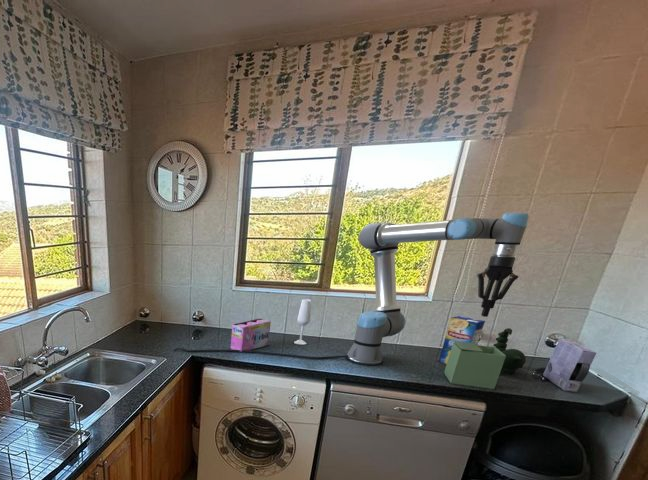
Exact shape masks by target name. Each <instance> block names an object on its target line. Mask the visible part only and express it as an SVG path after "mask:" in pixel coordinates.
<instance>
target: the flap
mask: <svg viewBox="0 0 648 480" xmlns="http://www.w3.org/2000/svg"><path fill="white" fill-rule="evenodd" d="M454 343H455V344H456V345H457V346H458V347H459V348H460V349H461V350H467V351H477V352H483V350H481V349H480V348H479V347H478V346H477V345H476V344H475V343H470V342H460V341H454Z"/></svg>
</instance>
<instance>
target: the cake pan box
mask: <svg viewBox="0 0 648 480" xmlns="http://www.w3.org/2000/svg"><path fill="white" fill-rule="evenodd" d="M596 356H597V351H594V350H593V349H590V348H588V347H587V346H585V345H582V344H581V343H579V342H577V341H575V340H573V339H568V338H558V341H557V343H556V345H555V347H554V350H553V351H552V354H551V356H550V359H549V361H548V362H547V364H546V367H545V369H544V371H543V373H542V377H545V378H546V379H547V380H549V381H550V382H551V383H552V384H553V385H556V387H559V388H560V389H561V390H562V391H564V392H573V393H578V391H579V389H580V386H581V385H582V383H583V381H585V379H586V377H587V376H588V374H589V371H590V369H591V365H592V364H593V361H594V359H595V357H596Z"/></svg>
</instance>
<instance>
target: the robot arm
mask: <svg viewBox="0 0 648 480" xmlns="http://www.w3.org/2000/svg"><path fill="white" fill-rule="evenodd" d="M529 218H530V216H529V213H526V212H505V213H503V216H502V217H500V218H479V217H475V218H473V217H471V218H470V217H462V218H456V219H446V220H445V219H444V220H435V221H425V222H414V223H413V222H411V223H404V224H397V223H392V222H371V223H368V224H367V225H365V226H363V227H362V228H361V230H360V231H359V234H358V243H359V245H361V247H363V248H364V249H367V250H369V255H370V256H372V257H373V259H374V260H373V265H374V266H373V267H374V286H375V307H374V309H372V311H371V310H369V311H364V312H362V313H360V314H359V317H358V319H357V324H356V329H355V335H354V339H353V343H352V345H351V347H350V348H349V350H348V352H347V354H346V355H330V356H329V355H328V356H311V355H310V356H308V355H300V354H290V353H282V352H281V353H280V352H272V351H261V350H242V352H241V351H240V350H232V349H222V348H221V349H215V348H214V349H209V348H207V349H187V348H184V347H175V348H174V349H173V350H172V351H173V352H175V351H177V350H180V351H184V352H188V353H189V352H190V353H195V352H197V353H198V352H229V353H230V352H232V353H233V352H234V353H251V354H252V353H253V354H265V355H274V356H283V357H292V358H302V359H310V360H311V359H312V360H325V359H341V358H342V359H343V358H344V359H345V358H346V359H347V360H348V361H349V362H351V363H355V364H359V365H366V366H378V365H381V364H382V362H383V356H382V349H381V346H382V341H383V338H386V337H392V336H395V335H397V334H399V333H401V332H402V331H403V330H404V328H405V326H406V323H407V322H406V317H405V315H404V314H403V313H402V312H401V306H399V305H398V304H397V282H396V279H397V278H396V258H395V257H396V253H397V252H398V251H399V244H403V243H421V242H436V241H437V242H438V241H456V240H457V241H459V240H461V241H462V240H478V239H479V240H495V241H494V245H493V248H492V251H491V256H490V258H489V261H488V264H487V267H486V268H485V269H484V271H482V272H478V273H476V277H477V279H478V281H477V282H478V288H477V291H478V293H477V296H478V298H479V299H482V302H481V305H480V307H481V308H482V311H481V314H480V315H481V317H483V318H484V317H485V318H488V317H489V314H490V310H491V309H494V308H495V304H496V302H497V301H499V300H503V299H504V298H505V296H506V294H507V293H508V292H509V290H510V288H511V287H512V285H513V283H514V282H516V280H518V278H519V275H517V274H515V273H514V269H513V267H514V264H515V261H516V256H517V255H518V252H519V249H520V246H521V243H522V240H523V237H524V234H525V232H526V228H528V227H527V226H528V221H529ZM485 277H486V278H487V279H488V280H487V284H486V286H485ZM507 278H508V279H507ZM506 279H507V280H506ZM504 280H506V282H505V284H504V285H503V283H504ZM494 284H495V285H494ZM502 285H503V286H502ZM501 287H502V288H501ZM491 292H492V293H491ZM490 296H491V297H490Z"/></svg>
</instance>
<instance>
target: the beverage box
mask: <svg viewBox="0 0 648 480" xmlns="http://www.w3.org/2000/svg"><path fill="white" fill-rule="evenodd" d="M485 322H486V320H482V319H478V318H471V317H466V316H461V315H458V316H452V317H450V321H449V324H448V327H447V331H446V334H445V338H444V341H443V345H442V347H441V351H440V355H439V359H438V362H439V363H441V364H442V363H443V364H445V365H447V362H448V358H449V355H450V352H451V348H452V345H453V343H454V341H460V342H470V343H475V344H476V345H478V344H479V342H480V339H481V335H482V333H483V329H484V326H485V324H486V323H485Z"/></svg>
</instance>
